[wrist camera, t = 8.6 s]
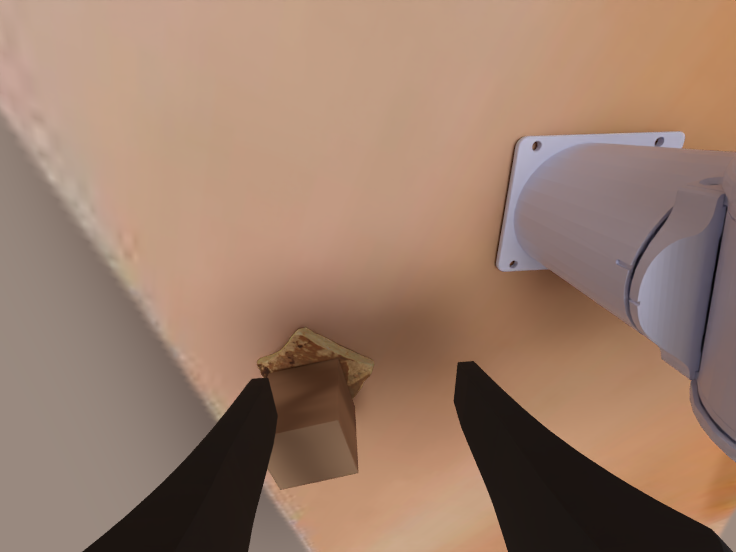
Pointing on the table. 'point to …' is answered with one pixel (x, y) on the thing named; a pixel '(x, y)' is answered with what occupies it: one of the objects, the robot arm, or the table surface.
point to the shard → (318, 358)
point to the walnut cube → (312, 425)
